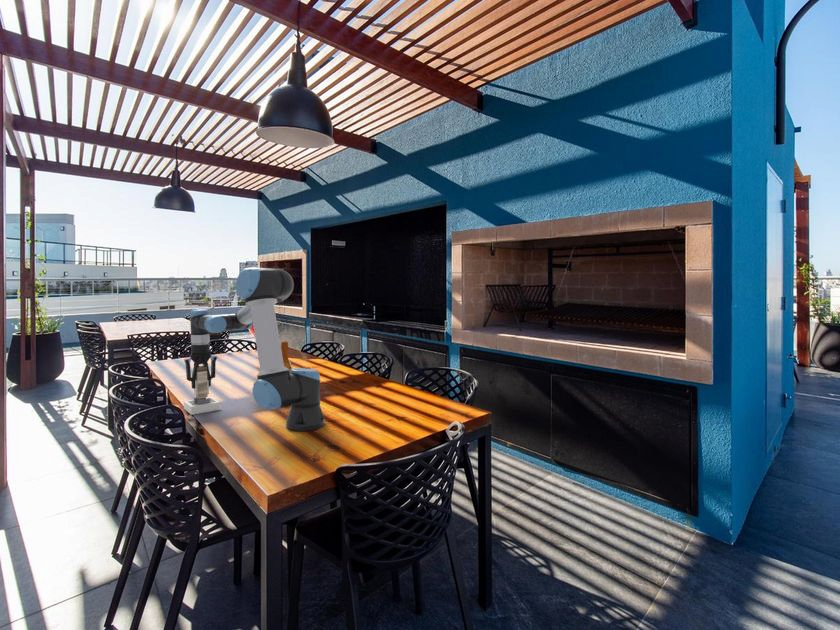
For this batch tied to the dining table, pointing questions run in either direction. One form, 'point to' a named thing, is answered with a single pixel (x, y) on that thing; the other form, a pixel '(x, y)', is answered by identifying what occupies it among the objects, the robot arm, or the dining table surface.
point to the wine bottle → (285, 355)
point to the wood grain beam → (202, 382)
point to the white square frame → (201, 405)
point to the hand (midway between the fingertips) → (201, 394)
